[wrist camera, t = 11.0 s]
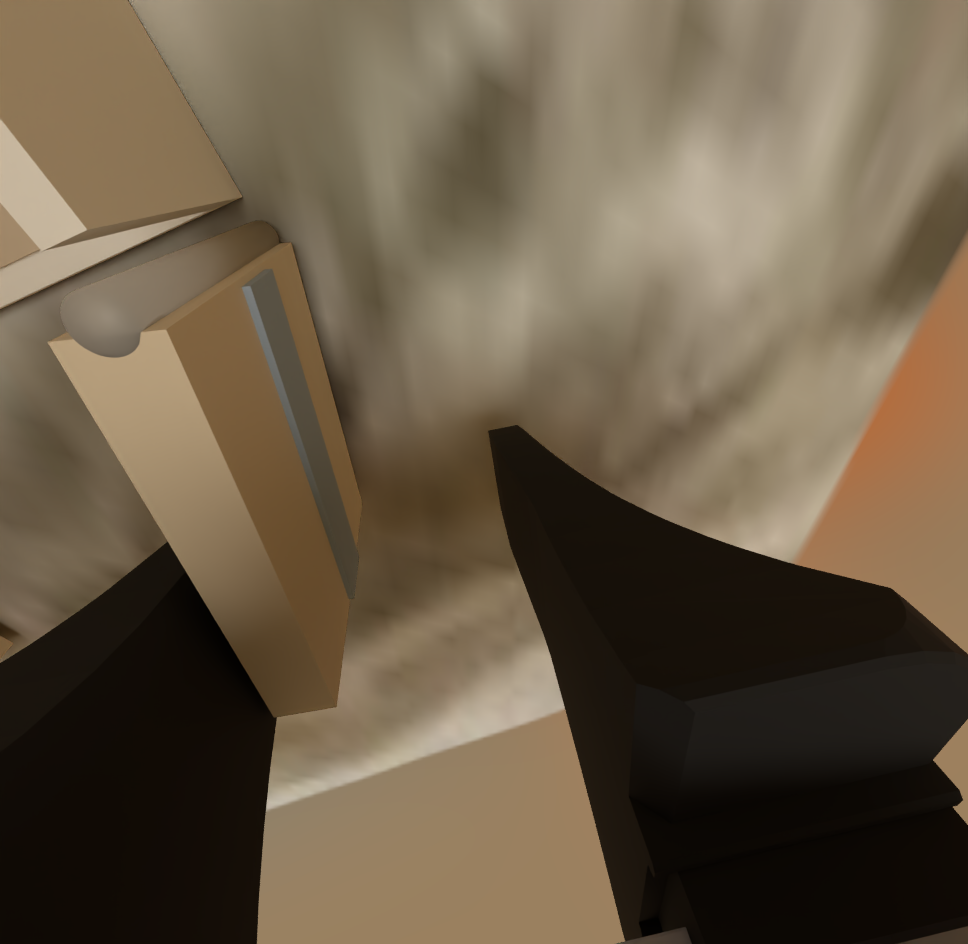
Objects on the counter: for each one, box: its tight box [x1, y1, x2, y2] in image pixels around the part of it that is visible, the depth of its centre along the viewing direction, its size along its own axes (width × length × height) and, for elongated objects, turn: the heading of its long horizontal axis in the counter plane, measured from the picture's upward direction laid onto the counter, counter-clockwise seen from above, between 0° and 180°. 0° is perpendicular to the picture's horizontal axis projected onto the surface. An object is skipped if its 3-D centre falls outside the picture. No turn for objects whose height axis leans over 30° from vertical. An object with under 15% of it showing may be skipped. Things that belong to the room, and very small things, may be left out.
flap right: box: [48, 221, 362, 718], centre depth 8 cm, size 7×1×6 cm, turn 4°
